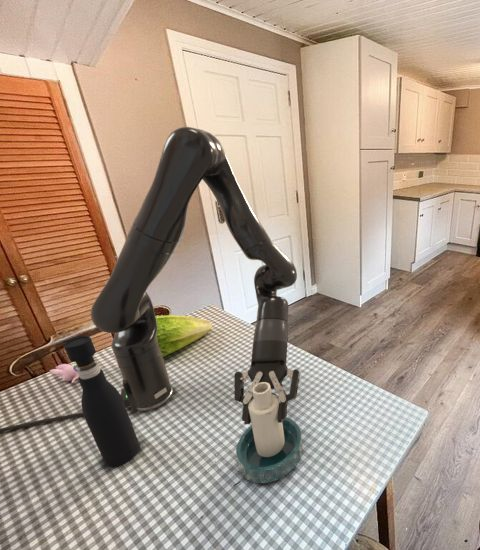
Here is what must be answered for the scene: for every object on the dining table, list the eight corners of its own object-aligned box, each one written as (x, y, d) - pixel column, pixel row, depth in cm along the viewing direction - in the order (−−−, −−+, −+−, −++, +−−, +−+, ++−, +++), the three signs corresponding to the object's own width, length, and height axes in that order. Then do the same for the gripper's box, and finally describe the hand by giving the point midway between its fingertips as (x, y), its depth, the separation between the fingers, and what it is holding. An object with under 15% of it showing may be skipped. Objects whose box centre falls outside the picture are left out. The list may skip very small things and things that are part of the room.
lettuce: (227, 322, 111) (206, 296, 115) (157, 344, 91) (136, 310, 95) (215, 346, 117) (196, 320, 121) (148, 371, 97) (128, 339, 102)
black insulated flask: (121, 470, 65) (72, 353, 54) (96, 464, 66) (44, 349, 55) (146, 444, 71) (107, 334, 60) (124, 439, 72) (81, 330, 61)
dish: (248, 499, 60) (245, 484, 58) (233, 447, 70) (230, 433, 68) (312, 463, 67) (310, 448, 65) (289, 421, 77) (288, 407, 75)
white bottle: (260, 462, 63) (249, 403, 57) (253, 441, 68) (242, 384, 62) (288, 448, 66) (280, 390, 60) (279, 428, 71) (271, 374, 65)
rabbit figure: (108, 378, 93) (65, 366, 95) (104, 363, 91) (61, 351, 92) (87, 393, 87) (42, 380, 89) (83, 377, 85) (37, 364, 87)
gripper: (232, 339, 65) (221, 426, 59) (299, 337, 66) (296, 422, 59) (243, 346, 72) (235, 424, 65) (304, 343, 73) (302, 420, 66)
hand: (264, 422), depth 63 cm, fingers closed on white bottle, 6 cm apart
